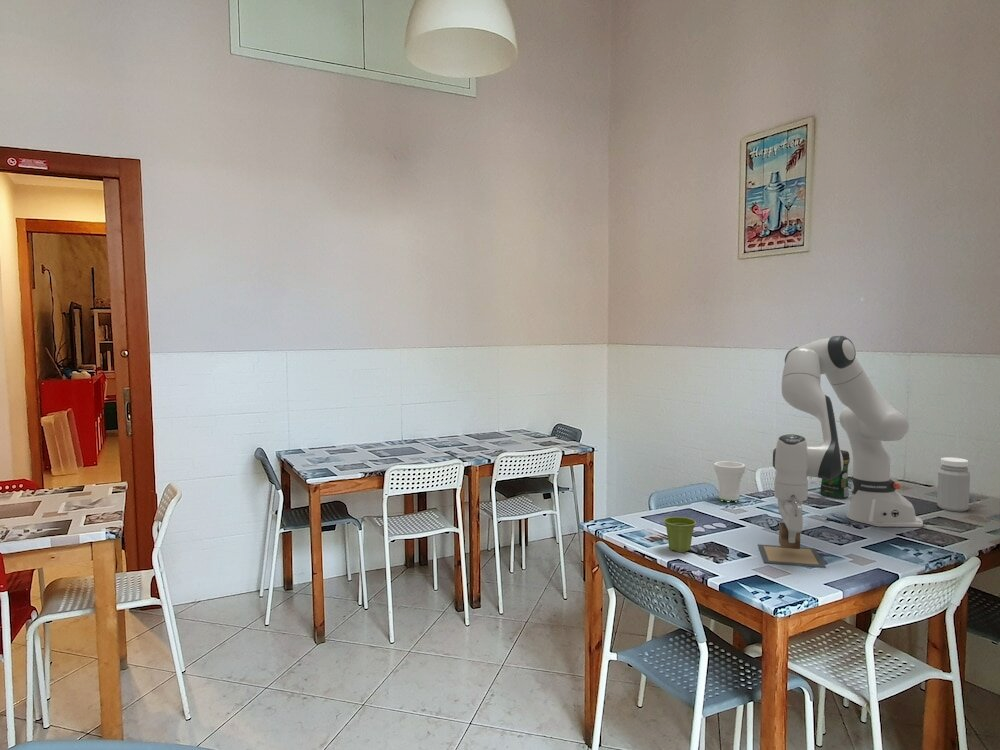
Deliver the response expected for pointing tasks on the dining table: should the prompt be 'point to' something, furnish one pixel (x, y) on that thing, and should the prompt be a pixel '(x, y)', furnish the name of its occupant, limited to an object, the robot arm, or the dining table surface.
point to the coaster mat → (791, 556)
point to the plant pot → (679, 533)
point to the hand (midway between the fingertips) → (789, 538)
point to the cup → (729, 479)
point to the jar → (953, 484)
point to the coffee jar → (837, 481)
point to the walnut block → (784, 538)
